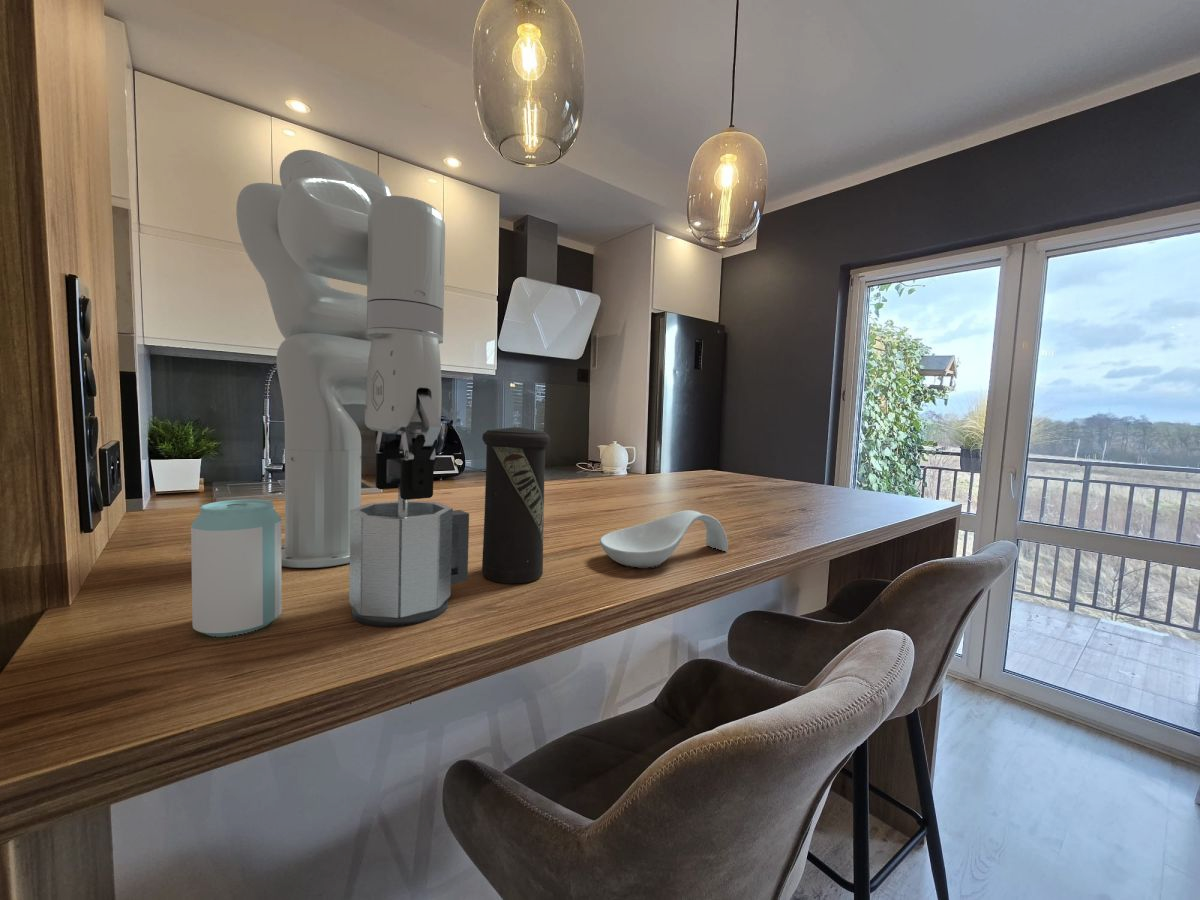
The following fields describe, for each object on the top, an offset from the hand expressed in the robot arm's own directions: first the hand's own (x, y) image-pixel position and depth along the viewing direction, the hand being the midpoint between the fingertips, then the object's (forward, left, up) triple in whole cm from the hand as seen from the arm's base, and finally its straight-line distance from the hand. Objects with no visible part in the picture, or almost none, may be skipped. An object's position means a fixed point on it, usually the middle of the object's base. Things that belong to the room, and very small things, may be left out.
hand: (403, 491), depth 53 cm
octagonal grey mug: (0, +1, -13) cm, 13 cm away
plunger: (0, 0, -10) cm, 10 cm away
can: (-5, -14, -13) cm, 20 cm away
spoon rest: (+3, +41, -13) cm, 43 cm away
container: (-3, +16, -13) cm, 21 cm away
